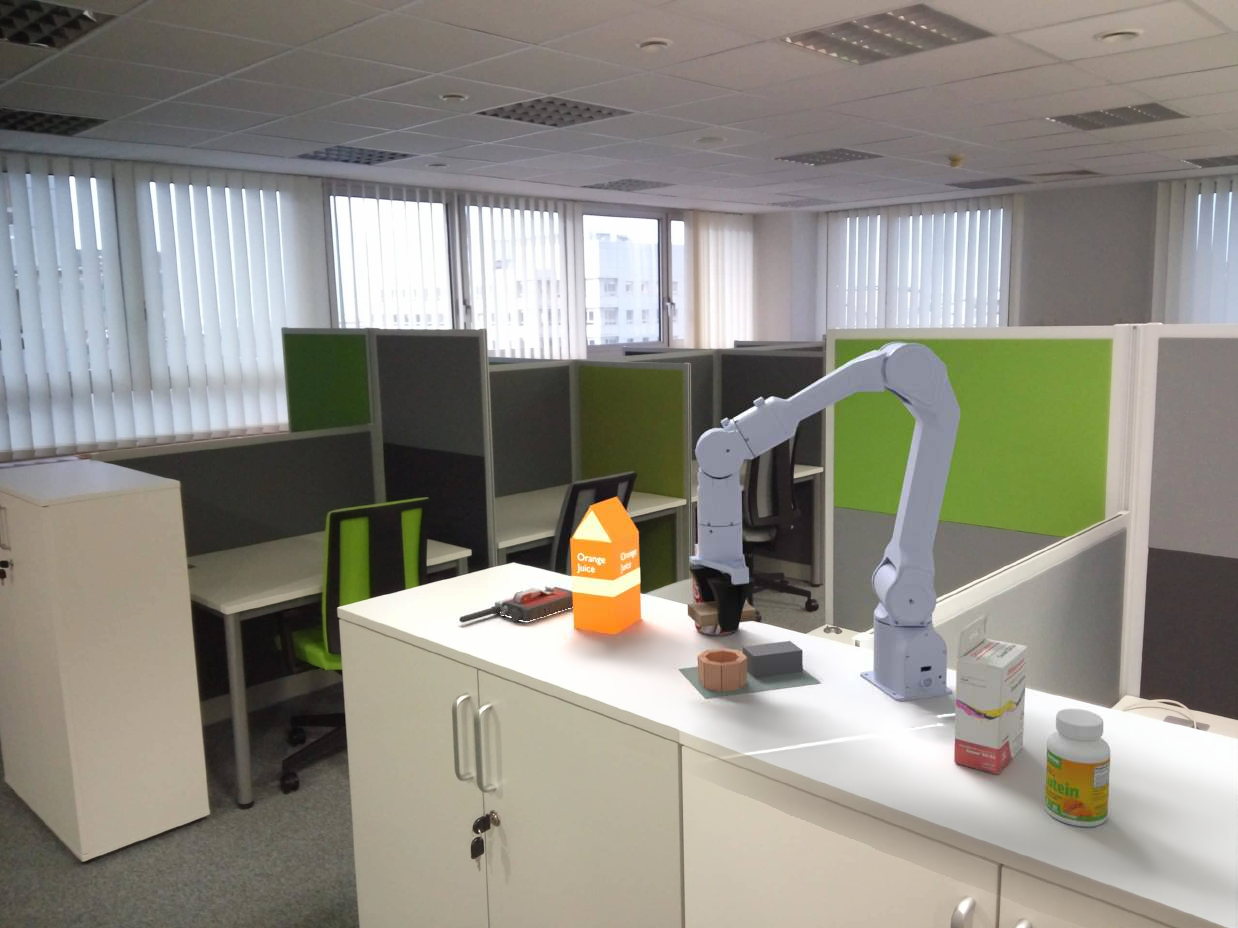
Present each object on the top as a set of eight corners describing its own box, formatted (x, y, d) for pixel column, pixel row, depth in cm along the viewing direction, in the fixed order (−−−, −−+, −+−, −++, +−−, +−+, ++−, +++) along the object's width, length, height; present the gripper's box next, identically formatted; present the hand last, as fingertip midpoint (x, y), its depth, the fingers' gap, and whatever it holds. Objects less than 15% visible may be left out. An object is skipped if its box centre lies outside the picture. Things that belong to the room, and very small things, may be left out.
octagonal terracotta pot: (752, 687, 123) (752, 661, 122) (708, 693, 121) (708, 667, 121) (735, 671, 128) (735, 646, 128) (693, 676, 127) (693, 651, 126)
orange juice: (573, 627, 150) (567, 504, 147) (601, 612, 158) (596, 494, 155) (615, 634, 146) (611, 507, 144) (642, 618, 154) (638, 497, 151)
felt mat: (821, 684, 124) (821, 682, 123) (705, 700, 120) (705, 698, 120) (785, 657, 134) (785, 655, 134) (678, 670, 130) (678, 668, 130)
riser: (802, 671, 128) (802, 650, 127) (754, 677, 126) (754, 656, 126) (790, 661, 132) (789, 640, 131) (742, 667, 130) (742, 646, 129)
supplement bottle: (1032, 809, 91) (1035, 713, 90) (1067, 794, 94) (1070, 700, 92) (1084, 834, 86) (1088, 733, 85) (1119, 817, 89) (1124, 719, 88)
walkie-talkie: (549, 598, 168) (456, 626, 154) (548, 574, 168) (455, 600, 154) (583, 608, 162) (489, 638, 148) (582, 583, 161) (487, 610, 147)
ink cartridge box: (1000, 776, 98) (1004, 639, 96) (952, 763, 101) (955, 631, 99) (1025, 746, 104) (1030, 618, 102) (980, 735, 107) (983, 610, 105)
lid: (756, 620, 122) (755, 609, 122) (701, 626, 120) (700, 615, 120) (740, 608, 127) (740, 598, 127) (687, 614, 125) (687, 603, 125)
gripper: (672, 514, 128) (675, 611, 130) (709, 536, 114) (711, 644, 116) (722, 510, 129) (723, 605, 131) (764, 531, 116) (765, 638, 117)
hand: (721, 623), depth 124 cm, fingers closed on lid, 5 cm apart
